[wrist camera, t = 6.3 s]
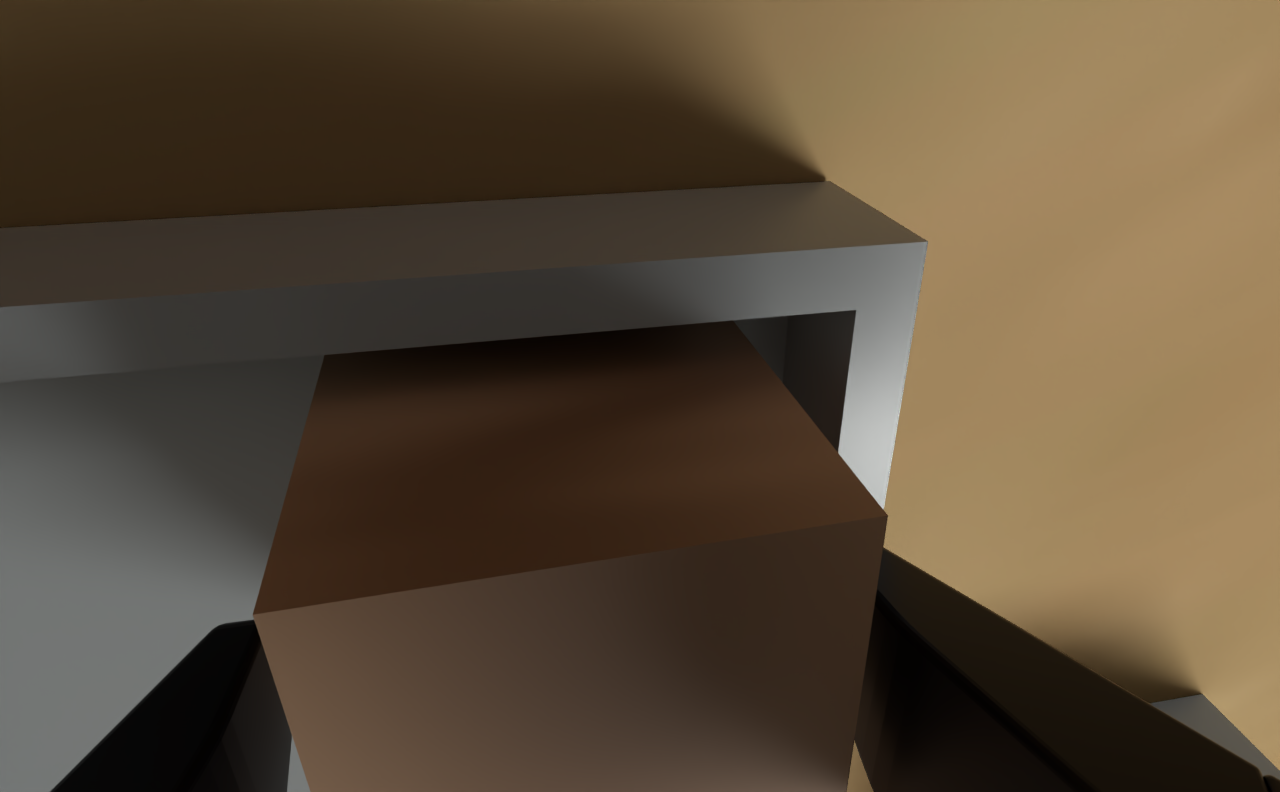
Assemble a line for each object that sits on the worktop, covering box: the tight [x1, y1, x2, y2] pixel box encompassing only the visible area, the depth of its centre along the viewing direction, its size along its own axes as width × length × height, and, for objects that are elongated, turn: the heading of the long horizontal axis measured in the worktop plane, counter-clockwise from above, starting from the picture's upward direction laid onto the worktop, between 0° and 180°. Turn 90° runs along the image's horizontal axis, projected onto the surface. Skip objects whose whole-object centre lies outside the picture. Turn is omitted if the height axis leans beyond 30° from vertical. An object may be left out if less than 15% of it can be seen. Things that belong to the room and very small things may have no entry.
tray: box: [0, 181, 928, 792], centre depth 10 cm, size 12×12×2 cm
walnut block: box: [253, 320, 888, 792], centre depth 8 cm, size 4×4×4 cm
